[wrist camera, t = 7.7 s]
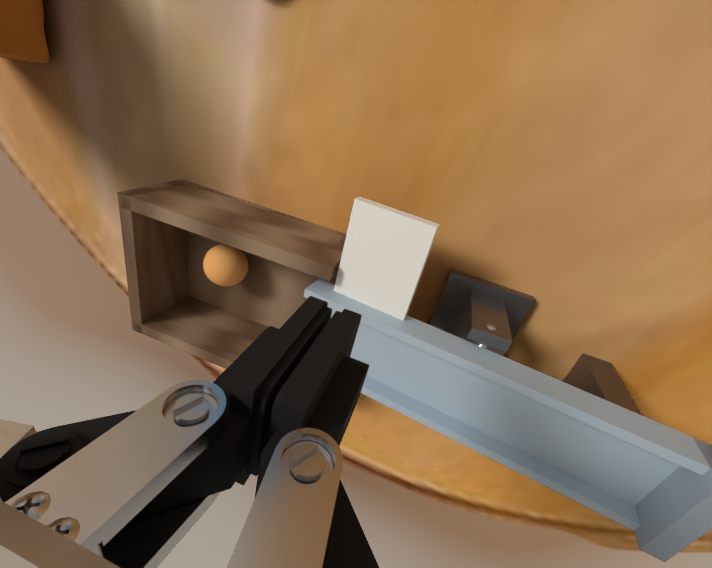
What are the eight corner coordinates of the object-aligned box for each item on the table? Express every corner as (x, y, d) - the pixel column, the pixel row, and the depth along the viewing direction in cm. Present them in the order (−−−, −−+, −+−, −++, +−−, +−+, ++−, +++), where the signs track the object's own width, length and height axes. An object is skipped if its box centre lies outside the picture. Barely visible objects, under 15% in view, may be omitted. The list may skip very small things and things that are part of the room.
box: (359, 238, 26) (332, 267, 21) (329, 355, 32) (303, 400, 27) (180, 179, 29) (117, 192, 24) (183, 298, 34) (132, 329, 29)
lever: (824, 358, 15) (887, 404, 12) (646, 509, 21) (664, 561, 18) (337, 188, 21) (313, 196, 18) (306, 344, 27) (284, 366, 24)
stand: (636, 331, 23) (683, 388, 18) (561, 426, 28) (582, 492, 23) (451, 269, 25) (447, 306, 20) (410, 368, 30) (399, 418, 25)
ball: (193, 247, 26) (218, 233, 29) (193, 286, 28) (217, 269, 31) (236, 260, 26) (257, 244, 29) (234, 299, 27) (253, 280, 31)
